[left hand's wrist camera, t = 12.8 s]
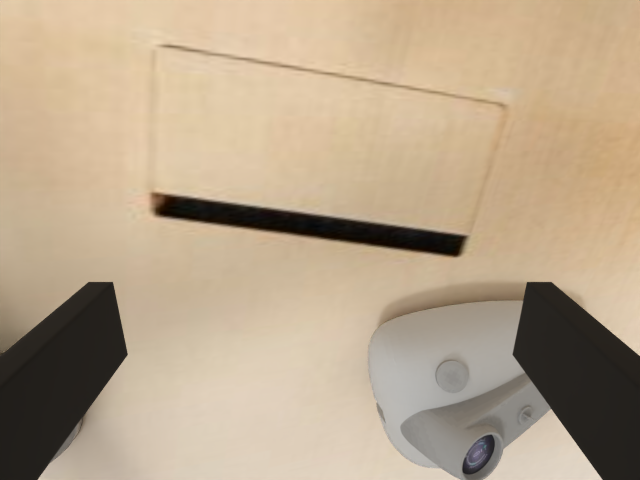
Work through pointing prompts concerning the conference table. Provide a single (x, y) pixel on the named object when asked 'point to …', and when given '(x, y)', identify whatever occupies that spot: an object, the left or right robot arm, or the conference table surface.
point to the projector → (453, 385)
